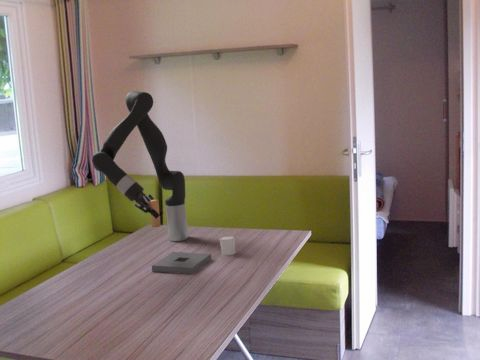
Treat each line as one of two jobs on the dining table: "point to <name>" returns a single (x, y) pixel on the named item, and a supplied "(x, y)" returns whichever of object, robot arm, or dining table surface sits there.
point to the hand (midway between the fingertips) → (159, 215)
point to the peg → (155, 206)
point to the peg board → (181, 262)
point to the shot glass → (227, 245)
